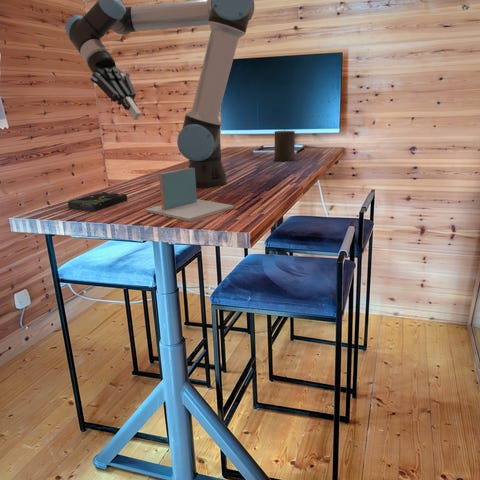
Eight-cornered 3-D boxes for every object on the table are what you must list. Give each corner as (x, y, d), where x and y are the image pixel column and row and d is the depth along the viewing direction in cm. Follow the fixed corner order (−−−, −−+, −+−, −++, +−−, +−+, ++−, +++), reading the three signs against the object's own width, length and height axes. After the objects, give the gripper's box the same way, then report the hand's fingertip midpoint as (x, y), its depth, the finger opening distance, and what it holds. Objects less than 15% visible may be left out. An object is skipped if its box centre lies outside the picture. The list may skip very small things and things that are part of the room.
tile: (193, 201, 132) (190, 167, 129) (197, 201, 131) (194, 167, 128) (161, 209, 123) (158, 173, 120) (165, 210, 122) (162, 174, 119)
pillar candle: (284, 162, 208) (284, 129, 204) (270, 160, 216) (270, 128, 211) (298, 160, 214) (299, 128, 210) (284, 158, 221) (284, 127, 217)
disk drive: (102, 200, 144) (68, 210, 131) (101, 192, 143) (66, 201, 130) (128, 202, 140) (94, 213, 127) (127, 194, 139) (93, 203, 126)
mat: (190, 200, 137) (189, 197, 136) (233, 208, 125) (233, 205, 125) (145, 211, 124) (145, 209, 124) (189, 221, 113) (189, 218, 113)
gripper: (112, 69, 142) (150, 124, 137) (75, 68, 133) (114, 127, 127) (120, 50, 137) (159, 106, 132) (82, 47, 128) (122, 107, 122)
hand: (137, 116), depth 129 cm, fingers closed
